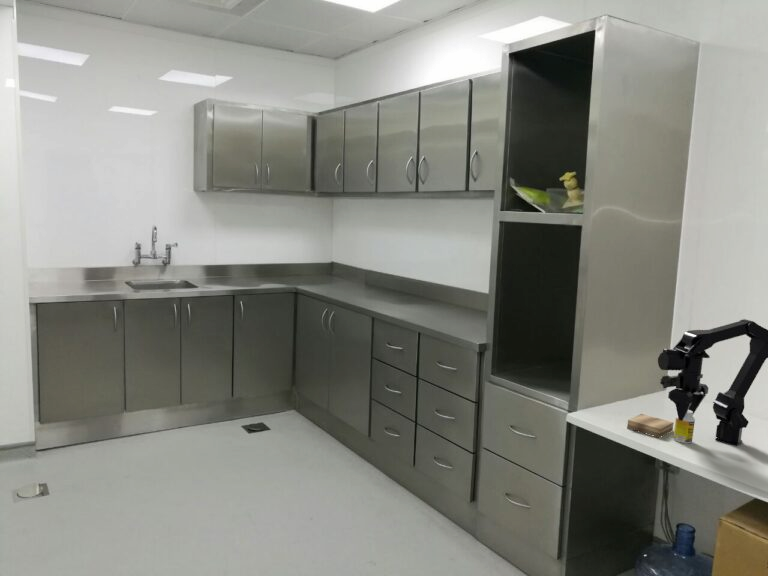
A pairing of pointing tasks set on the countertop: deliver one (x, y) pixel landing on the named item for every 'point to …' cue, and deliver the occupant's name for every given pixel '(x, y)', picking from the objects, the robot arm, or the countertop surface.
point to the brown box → (650, 425)
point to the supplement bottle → (684, 428)
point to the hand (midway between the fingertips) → (685, 417)
